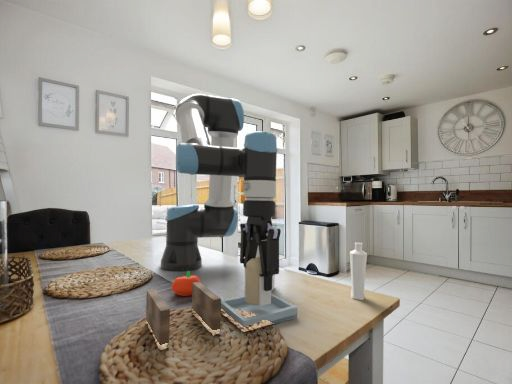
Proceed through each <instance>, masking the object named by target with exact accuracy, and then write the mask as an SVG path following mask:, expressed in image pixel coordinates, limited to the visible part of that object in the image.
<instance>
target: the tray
mask: <svg viewBox="0 0 512 384" xmlns="http://www.w3.org/2000/svg"><path fill="white" fill-rule="evenodd" d="M233 308H234V309H233ZM221 309H223V310H224V311H225V312H226V313H227V314H228V315H229V316H231V317H232V318H233V319H234V320H236V321H237V322H238V323H240V324H241V325H242V326H243V327H246V326H249V325H252V324H255V323H258V322H260V321H262V320H268V321H270V322H272V323H274V325H276V324H280V323H283V322H287V321H290V320H294V319H297V318H298V306H297V305H294V304H292V303H290V302H289V301H287V300H285V299H283V298H281V297H280V296H278V295H276V294H274V293H272V292H271V304H267V305H263V306H260V305H251V304H248V303H247V302H246V300H245V294H244V295H241V296H235V297H232V298H231V297H229V298H225V299H221ZM235 309H241V310H245V311H249V312H252V313H255V314H258V315H256V316H252V317H248V318H245V317H244V316H242V315H241V314H240V313H239V312H237V311H236V310H235Z"/></svg>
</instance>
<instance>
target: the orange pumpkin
mask: <svg viewBox="0 0 512 384" xmlns="http://www.w3.org/2000/svg"><path fill="white" fill-rule="evenodd" d="M194 282H200V283H201V284H202V281H201V279H200V278H199V277H198V276H197V275H193V274H191V271H190V270H186V275H183V276H179V277H176V278H175V279H174V280H173V282H172V283H171V290H172V292H173V293H174V294H176V295H177V296H181V297H190V296H192V283H194Z"/></svg>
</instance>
